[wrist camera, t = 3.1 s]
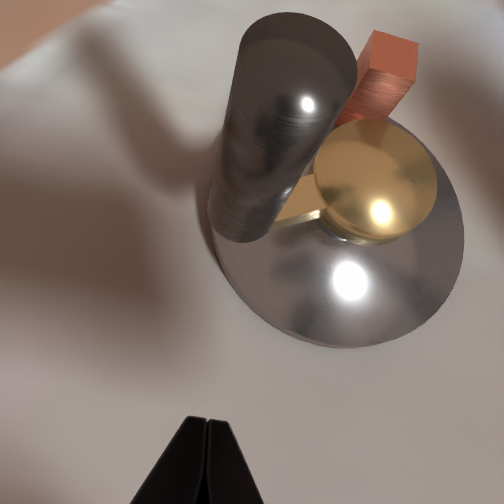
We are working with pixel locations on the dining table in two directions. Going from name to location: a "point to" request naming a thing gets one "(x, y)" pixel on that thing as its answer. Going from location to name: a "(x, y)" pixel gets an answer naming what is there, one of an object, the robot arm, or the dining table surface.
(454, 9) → the dining table surface
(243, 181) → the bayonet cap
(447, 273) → the post base
